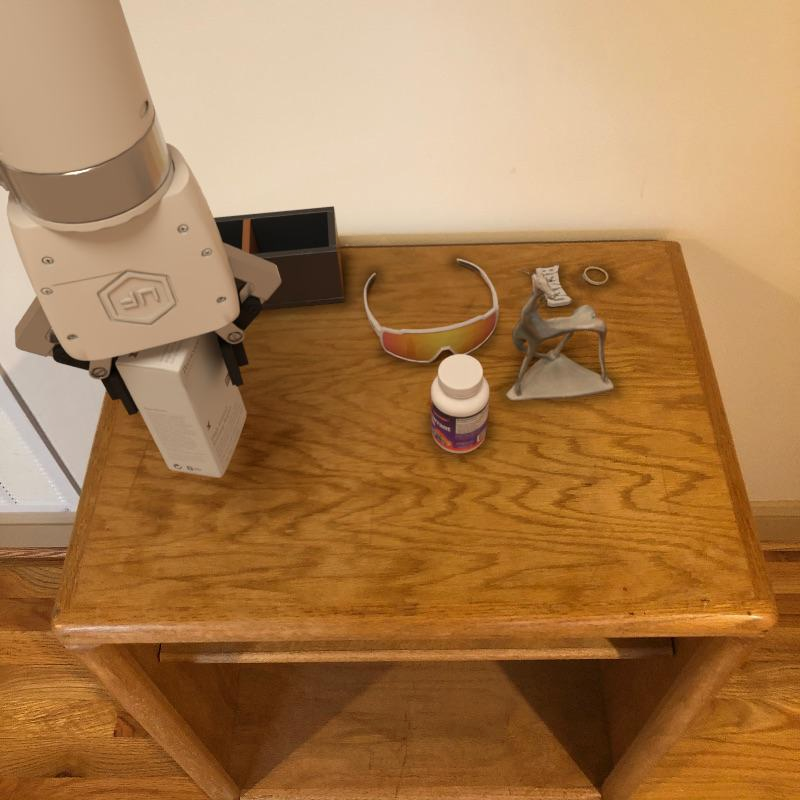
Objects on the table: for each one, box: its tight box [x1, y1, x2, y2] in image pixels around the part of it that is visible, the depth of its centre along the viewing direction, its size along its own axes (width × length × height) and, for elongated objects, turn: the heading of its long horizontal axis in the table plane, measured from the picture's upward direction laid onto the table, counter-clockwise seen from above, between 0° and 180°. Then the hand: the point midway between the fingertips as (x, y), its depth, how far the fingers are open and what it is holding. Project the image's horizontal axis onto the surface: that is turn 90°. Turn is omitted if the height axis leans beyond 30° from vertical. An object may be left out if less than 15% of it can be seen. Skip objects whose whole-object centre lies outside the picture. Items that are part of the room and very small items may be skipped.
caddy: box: [214, 205, 345, 311], centre depth 87 cm, size 19×7×8 cm, turn 95°
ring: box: [581, 265, 609, 286], centre depth 88 cm, size 3×1×3 cm
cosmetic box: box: [115, 331, 247, 479], centre depth 53 cm, size 6×4×12 cm
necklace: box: [515, 264, 572, 308], centre depth 87 cm, size 7×1×5 cm
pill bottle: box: [430, 354, 490, 454], centre depth 73 cm, size 5×5×10 cm
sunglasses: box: [363, 258, 500, 364], centre depth 85 cm, size 14×15×5 cm
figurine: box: [505, 272, 615, 401], centre depth 75 cm, size 11×6×15 cm, turn 91°
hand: (183, 382), depth 52 cm, fingers closed on cosmetic box, 6 cm apart
